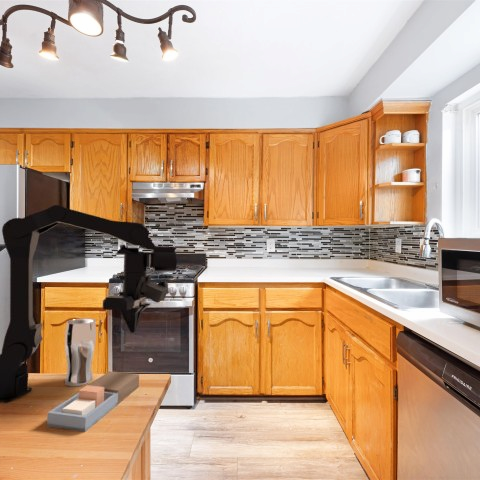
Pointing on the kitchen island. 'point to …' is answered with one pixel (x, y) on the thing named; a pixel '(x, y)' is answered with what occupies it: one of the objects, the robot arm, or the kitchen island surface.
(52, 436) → the kitchen island surface
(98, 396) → the terracotta tile
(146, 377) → the kitchen island surface
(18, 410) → the kitchen island surface
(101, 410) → the slate tray
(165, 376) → the kitchen island surface
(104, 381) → the dark walnut board
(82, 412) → the cream tile
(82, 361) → the beer glass
